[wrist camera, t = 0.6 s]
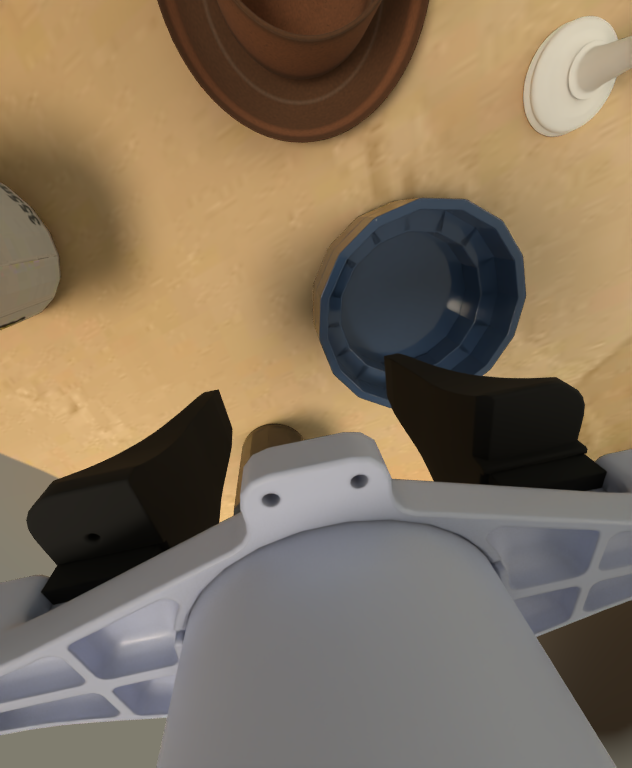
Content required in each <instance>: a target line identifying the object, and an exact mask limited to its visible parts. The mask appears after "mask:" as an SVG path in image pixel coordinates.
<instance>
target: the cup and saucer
mask: <svg viewBox="0 0 632 768" xmlns="http://www.w3.org/2000/svg"><path fill="white" fill-rule="evenodd" d="M157 1H158V4H159V7H160V10H161V13H162V15H163V18H164V21H165V24H166V26H167V28H168V31H169V33H170V35H171V38H172V40H173V42H174V44H175V46H176V48H177V50H178V52H179V53H180V55H181V57H182V59H183V60H184V62H185V64H186V65H187V67H188V69H189V70H190V72H191V73H192V75H193V76H194V77H195V79H196V80H197V82H198V83H199V84H200V86H201V87H202V88H203V89H204V90H205V91H206V93H207V94H208V95H209V96H210V97H211V98H212V99H213V100H214V101H215V102H216V103H217V104H218V105H219V106H220V107H221V108H222V109H223V110H224V111H225V112H227V113H228V114H229V115H230V116H231V117H233V118H234V119H235V120H237V121H238V122H240V123H241V124H243V125H244V126H246V127H248V128H250V129H252V130H253V131H255V132H258V133H260V134H262V135H265V136H267V137H271V138H274V139H278V140H283V141H288V142H314V141H320V140H325V139H328V138H331V137H334V136H337V135H339V134H341V133H344V132H346V131H348V130H349V129H351V128H353V127H354V126H356V125H358V124H359V123H360V122H362V121H363V120H364V119H366V118H367V117H368V116H369V115H370V114H372V113H373V112H374V111H375V110H376V109H377V108H378V107H379V106H380V105H381V104H382V102H383V101H384V100H385V99H386V98H387V97H388V95H389V94H390V93H391V91H392V90H393V89H394V87H395V86H396V84H397V83H398V81H399V79H400V78H401V76H402V75H403V73H404V71H405V69H406V67H407V65H408V63H409V61H410V59H411V57H412V54H413V52H414V50H415V47H416V45H417V42H418V39H419V36H420V33H421V30H422V27H423V23H424V20H425V16H426V12H427V7H428V2H429V0H157Z"/></svg>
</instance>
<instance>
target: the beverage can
mask: <svg viewBox="0 0 632 768" xmlns="http://www.w3.org/2000/svg"><path fill="white" fill-rule="evenodd" d="M60 278H61V274H60V262H59V254H58V252H57V249H56V247H55V244H54V242H53V239H52V237H51V234H50V232H49V230H48V229H47V228H46V226H45V225H44V223H43V222H42V221H41V219H40V218H39V217H38V215H37V214H36V213H35V211H34V210H33V208H32V207H30V206H29V205H28V204H27V203H26V202H25V201H24V200H22V199H21V198H20V197H19V196H18V195H17V194H16V193H14V192H13V191H12V190H11V189H10V188H9V187H7V186H6V185H4V184H2V183H0V330H2V329H5V328H7V327H9V326H12V325H14V324H16V323H19V322H21V321H23V320H26V319H28V318H30V317H32V316H34V315H36V314H38V313H40V312H42V311H43V310H44V309H45V308H46V306H47V305H48V304H49V303H50V302H51V301H52V300H53V298H54V297H55V294H56V291H57V288H58V284H59V281H60Z"/></svg>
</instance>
